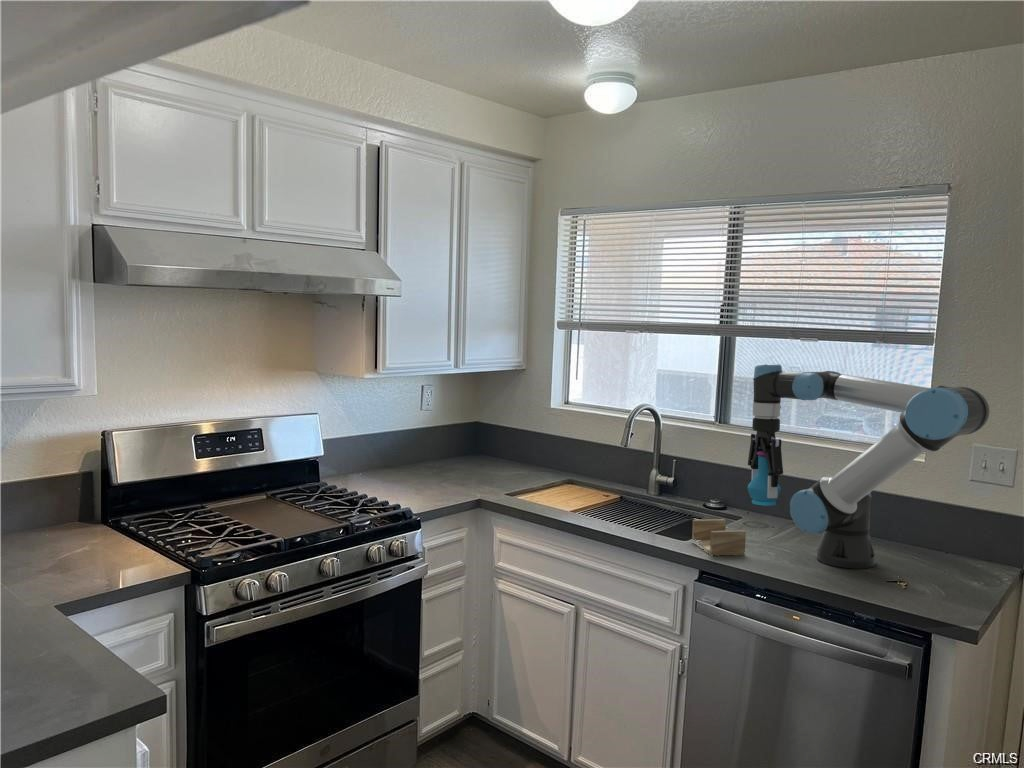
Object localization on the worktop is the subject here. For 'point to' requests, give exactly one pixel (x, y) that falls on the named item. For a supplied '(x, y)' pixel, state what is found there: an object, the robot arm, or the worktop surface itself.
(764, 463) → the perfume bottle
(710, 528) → the holder
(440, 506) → the worktop surface
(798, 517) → the robot arm
